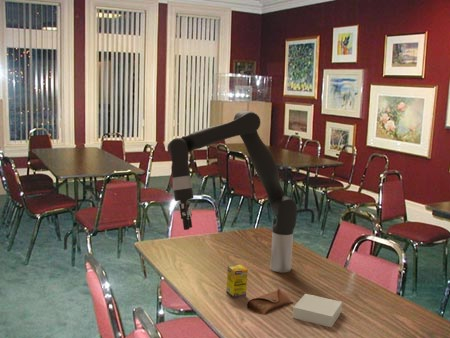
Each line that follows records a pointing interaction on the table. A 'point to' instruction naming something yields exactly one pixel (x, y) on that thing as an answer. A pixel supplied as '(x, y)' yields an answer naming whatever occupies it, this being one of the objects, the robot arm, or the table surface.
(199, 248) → the table surface
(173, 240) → the table surface
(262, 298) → the sunglasses case
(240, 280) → the supplement box
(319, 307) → the plate
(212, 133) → the robot arm
